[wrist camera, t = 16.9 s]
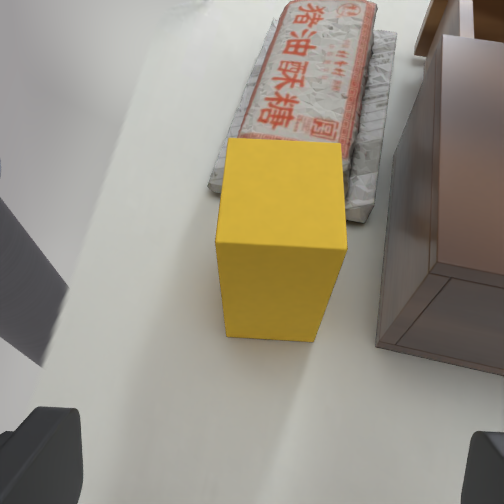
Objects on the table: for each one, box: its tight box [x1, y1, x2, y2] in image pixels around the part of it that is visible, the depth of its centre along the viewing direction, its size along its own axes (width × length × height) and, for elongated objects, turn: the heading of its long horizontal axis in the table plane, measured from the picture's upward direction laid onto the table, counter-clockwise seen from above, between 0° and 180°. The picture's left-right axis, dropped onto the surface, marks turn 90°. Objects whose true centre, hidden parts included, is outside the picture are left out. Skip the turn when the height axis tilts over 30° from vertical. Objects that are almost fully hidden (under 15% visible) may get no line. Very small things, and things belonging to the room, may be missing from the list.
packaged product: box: [207, 0, 397, 223], centre depth 29 cm, size 18×5×10 cm
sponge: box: [215, 138, 348, 342], centre depth 20 cm, size 4×5×9 cm
